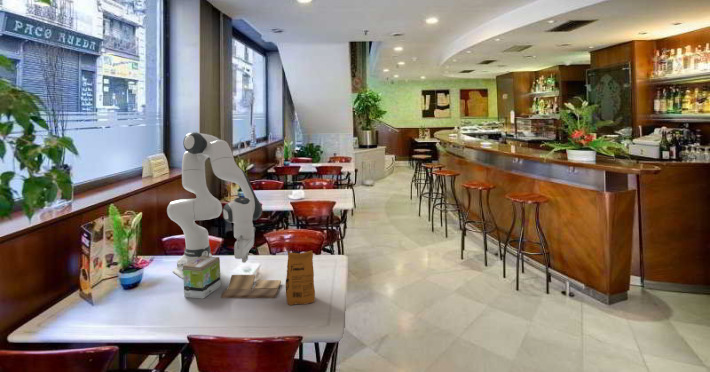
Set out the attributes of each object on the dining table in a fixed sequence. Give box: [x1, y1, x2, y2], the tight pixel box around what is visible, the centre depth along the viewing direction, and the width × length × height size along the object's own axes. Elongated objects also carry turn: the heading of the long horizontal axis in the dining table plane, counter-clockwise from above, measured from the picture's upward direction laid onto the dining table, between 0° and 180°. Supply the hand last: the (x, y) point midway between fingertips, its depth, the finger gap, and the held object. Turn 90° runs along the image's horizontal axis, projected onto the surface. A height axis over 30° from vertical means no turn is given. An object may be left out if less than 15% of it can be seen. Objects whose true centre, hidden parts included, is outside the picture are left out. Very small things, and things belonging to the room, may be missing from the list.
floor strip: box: [220, 288, 279, 299], centre depth 189 cm, size 24×7×1 cm, turn 88°
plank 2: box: [253, 279, 282, 290], centre depth 197 cm, size 11×8×1 cm
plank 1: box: [227, 274, 256, 289], centre depth 196 cm, size 11×8×1 cm
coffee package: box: [285, 250, 316, 306], centre depth 181 cm, size 10×12×22 cm
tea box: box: [182, 256, 222, 299], centre depth 192 cm, size 15×10×15 cm, turn 168°
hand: (245, 261), depth 197 cm, fingers closed
